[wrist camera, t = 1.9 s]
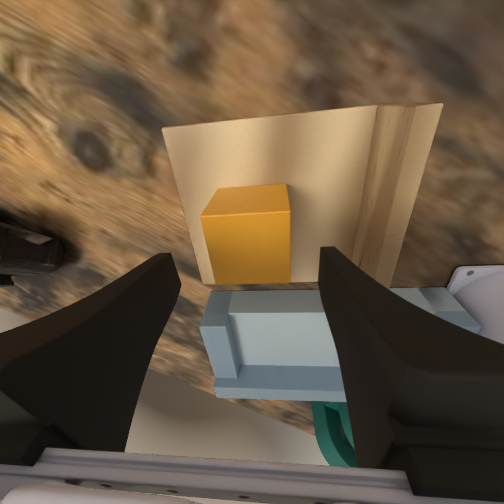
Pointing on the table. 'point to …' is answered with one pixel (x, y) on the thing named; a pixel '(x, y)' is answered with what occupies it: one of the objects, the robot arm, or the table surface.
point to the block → (249, 234)
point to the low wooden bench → (314, 177)
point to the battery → (27, 253)
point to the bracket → (334, 433)
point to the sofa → (290, 341)
